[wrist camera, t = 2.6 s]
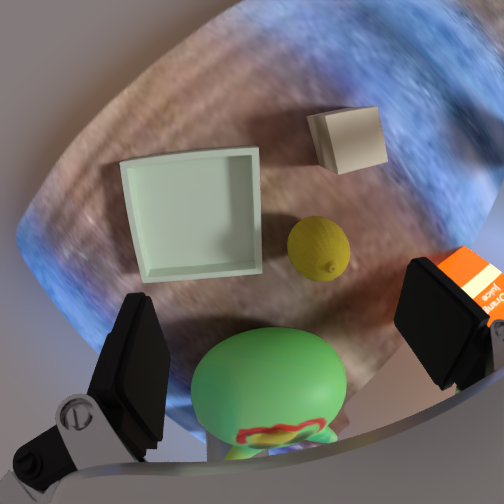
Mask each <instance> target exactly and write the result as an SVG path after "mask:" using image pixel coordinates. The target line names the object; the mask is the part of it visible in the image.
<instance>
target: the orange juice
mask: <svg viewBox="0 0 504 504" xmlns="http://www.w3.org/2000/svg"><path fill="white" fill-rule="evenodd" d="M437 267H438V268H439V269H441V270H442V271H443V272H444V273H445V274H446V275H447V276H449V277H450V278H451V279H452V280H453V281H454V282H455V283H456V284H457V285H459V286H460V287H461V288H462V289H463V290H464V291H465V292H466V293H467V294H468V295H469V296H470V297H471V298H472V299H473V300H474V301H475V302H476V303H477V304H478V305H480V306H481V307H482V308H483V309H484V310H485V311H486V312H487V314H488V315H489V316H490V319H489V321H488V323H487V326H488V327H490V325H491V323H492V321H494V320H496V319H503V320H504V275H503V274H502V273H501V272H500V271H499V270H498V269H496V268H495V267H494V266H492V265H491V264H489V263H488V262H487V261H485V260H484V259H482V258H481V257H480V256H478V255H477V254H476V253H474V252H473V251H471V250H470V249H468V248H467V247H466V246H463V247H462V248H460V249H459V250H458V251H457V252H455V253H454V254H453V255H451V256H450V257H449V258H447V259H446V260H444V261H443V262H442V263H440V264H439V265H438V266H437Z"/></svg>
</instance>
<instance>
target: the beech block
mask: <svg viewBox="0 0 504 504" xmlns="http://www.w3.org/2000/svg"><path fill="white" fill-rule="evenodd" d="M306 117H307V121H308V124H309V128H310V132H311V135H312V139H313V143H314V147H315V151H316V155H317V159H318V163H319V165H320V166H322V167H324V168H326V169H328V170H330V171H332V172H334V173H336V174H338V175H339V174H343V173H347V172H350V171H354V170H358V169H362V168H366V167H369V166H373V165H377V164H381V163H385V162H388V159H387V153H386V147H385V142H384V136H383V131H382V126H381V121H380V116H379V112H378V108H377V106H372V107H350V108H345V109H339V110H334V111H329V112H324V113H319V114H315V115H310V116H306Z"/></svg>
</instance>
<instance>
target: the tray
mask: <svg viewBox="0 0 504 504" xmlns="http://www.w3.org/2000/svg"><path fill="white" fill-rule="evenodd" d="M120 170H121V177H122V184H123V191H124V197H125V203H126V208H127V214H128V219H129V225H130V230H131V235H132V239H133V244H134V249H135V253H136V257H137V262H138V266H139V270H140V274H141V278H142V282H143V283H150V282H165V281H178V280H191V279H204V278H216V277H228V276H240V275H251V274H262V238H261V201H260V169H259V147H257V146H255V145H254V146H235V147H220V148H208V149H197V150H187V151H179V152H170V153H163V154H155V155H148V156H142V157H136V158H130V159H126V160H124V161H122V162H120Z"/></svg>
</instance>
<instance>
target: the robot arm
mask: <svg viewBox="0 0 504 504" xmlns="http://www.w3.org/2000/svg"><path fill="white" fill-rule="evenodd" d="M489 319H490V316H489V315H488V314H487V312H486V311H485V310H484V309H483V308H482V307H481V306H480V305H478V304H477V303H476V302H475V301H474V300H473V299H472V298H471V297H470V296H469V295H468V294H467V293H466V292H465V291H464V290H463V289H462V288H461V287H460V286H459V285H457V284H456V283H455V282H454V281H453V280H452V279H451V278H450V277H449V276H447V275H446V274H445V273H444V272H443V271H442V270H441V269H439V268H438V267H437V266H436V265H435V264H434V263H433V262H431V261H430V260H429V259H428V258H426V257H420V258H414V259H412V260H411V261H410V263H409V264H408V266H407V270H406V274H405V278H404V283H403V287H402V291H401V295H400V298H399V302H398V306H397V309H396V313H395V316H394V324H395V326H396V328H397V329H398V330H399V332H400V333H401V335H402V336H403V337H404V339H405V340H406V342H407V343H408V345H409V346H410V347H411V349H412V350H413V352H414V353H415V355H416V356H417V358H418V359H419V361H420V362H421V363H422V365H423V367H424V368H425V370H426V371H427V373H428V374H429V375H430V377H431V379H432V380H433V382H434V383H435V384H436V385H438V386H439V387H440V389H441V390H442V391H443V390H445V389H447V388H449V387H451V386H452V385H453V383H454V382H455V383H456V385H457V386H456V393H455V395H454V396H452V397H450V398H448V399H446V400H444V401H442V402H440V403H438V404H436V405H434V406H432V407H430V408H428V409H425V410H423V411H421V412H419V413H416V414H414V415H412V416H409V417H407V418H405V419H402V420H400V421H397V422H395V423H392V424H389V425H387V426H384V427H381V428H378V429H376V430H373V431H370V432H367V433H364V434H361V435H358V436H355V437H351V438H347V439H344V440H340V441H337V442H333V443H329V444H325V445H321V446H317V447H313V448H308V449H303V450H298V451H293V452H288V453H282V454H276V455H270V456H269V452H268V449H264V450H263V451H261V452H259V453H257V454H256V455H254V456H252V457H250V458H246V459H236V460H224V461H222V460H223V458H224V457H225V456H226V454H227V453H228V452H229V450H230V449H231V447H232V445H231V444H228V443H226V442H224V441H222V440H220V439H218V438H216V437H215V436H213V435H212V434H211V433H210V432H208V431H207V430H206V444H207V462H148V461H147V460H146V459H145V458H144V456H145V455H146V449H157V442H158V441H162V439H163V427H164V416H165V405H166V395H167V385H168V377H169V368H170V352H169V349H168V347H167V344H166V341H165V339H164V336H163V333H162V330H161V327H160V324H159V321H158V318H157V315H156V312H155V309H154V306H153V303H152V300H151V297H150V296H146V295H145V294H144V293H143V292H139V293H128V294H127V295H126V297H125V299H124V302H123V304H122V306H121V309H120V311H119V314H118V316H117V319H116V321H115V324H114V326H113V329H112V331H111V332H110V333H109V334H108V335H107V337H106V340H105V342H104V345H103V348H102V350H101V353H100V356H99V359H98V362H97V364H96V367H95V370H94V373H93V376H92V380H91V382H90V385H89V388H88V392H87V395H85V394H74V395H72V396H69V397H67V398H66V399H65V400H63V401H62V403H61V404H60V405H59V406H58V409H57V411H56V417H55V419H56V425H55V426H53V427H52V428H50V429H49V430H47V431H45V432H44V433H42V434H41V435H39V436H37V437H36V438H34V439H33V440H31V441H29V442H28V443H26V444H25V445H23V446H22V447H20V448H19V449H18V450H17V452H16V453H15V455H14V458H13V469H14V471H13V472H11V471H10V470H8V472H7V473H6V474H5V475H4V476H3V478H2V479H1V480H0V504H504V320H503V319H496V320H494V321H492V323H491V325H490V327H488V326H487V323H488V321H489ZM197 421H198V422H199V424H200V425H201V426H203V425H202V424H201V422H200V421H199V419H198V418H197ZM203 427H204V426H203ZM204 428H205V427H204Z"/></svg>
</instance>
